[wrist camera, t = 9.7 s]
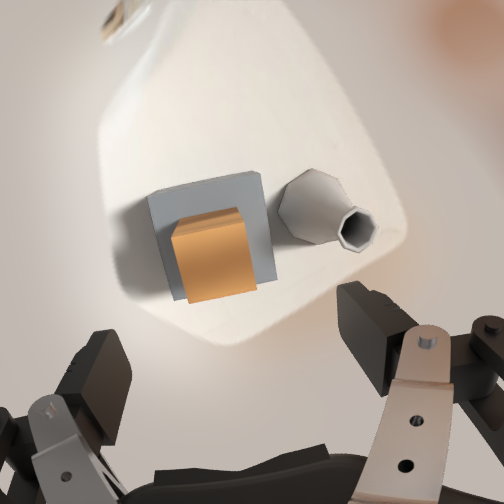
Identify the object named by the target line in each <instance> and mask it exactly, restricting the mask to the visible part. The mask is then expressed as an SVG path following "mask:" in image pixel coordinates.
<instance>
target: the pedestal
mask: <svg viewBox="0 0 504 504" xmlns="http://www.w3.org/2000/svg"><path fill="white" fill-rule="evenodd" d="M147 200H148V204H149V208H150V213H151V217H152V221H153V225H154V229H155V233H156V237H157V241H158V245H159V249H160V253H161V257H162V260H163V264H164V268H165V271H166V275H167V279H168V282H169V286H170V289H171V293H172V296H173V299H174V301H176V300H181V299H186V298H187V295H186V292H185V288H184V285H183V281H182V278H181V274H180V270H179V266H178V263H177V259H176V255H175V251H174V247H173V243H172V240H171V237H172V235H173V233H174V231H175V229H176V226H177V224H178V222H179V220H180V219H181V218H185V217H190V216H194V215H199V214H204V213H208V212H213V211H218V210H223V209H227V208H232V207H237V208H238V210H239V213H240V215H241V217H242V219H243V221H244V224H245V229H246V234H247V239H248V245H249V250H250V255H251V260H252V266H253V271H254V276H255V281H256V284H261V283H265V282H270V281H275V280H278V279H277V273H276V267H275V260H274V254H273V248H272V241H271V235H270V229H269V223H268V217H267V211H266V205H265V199H264V193H263V187H262V181H261V175H260V173H257V172H254V171H248V172H242V173H237V174H232V175H226V176H221V177H216V178H211V179H206V180H202V181H197V182H192V183H187V184H183V185H178V186H174V187H170V188H165V189H161V190H157V191H156V192H154V193H152V194H151V195H149V196H148V197H147Z"/></svg>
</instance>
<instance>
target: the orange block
mask: <svg viewBox="0 0 504 504" xmlns="http://www.w3.org/2000/svg"><path fill="white" fill-rule="evenodd" d="M171 240H172V243H173V247H174V251H175V255H176V259H177V263H178V266H179V270H180V274H181V278H182V281H183V285H184V288H185V292H186V295H187V299H188V302H189V304H191V303H196V302H201V301H206V300H211V299H216V298H221V297H225V296H230V295H235V294H240V293H244V292H249V291H254V290H257V287H256V281H255V276H254V271H253V266H252V260H251V255H250V250H249V245H248V239H247V234H246V229H245V224H244V221H243V219H242V217H241V215H240V213H239V210H238V208H237V207H232V208H227V209H223V210H218V211H213V212H208V213H204V214H199V215H194V216H190V217H185V218H181V219H180V220H179V222H178V224H177V226H176V229H175V231H174V233H173V235H172V237H171Z"/></svg>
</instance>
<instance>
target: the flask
mask: <svg viewBox="0 0 504 504" xmlns="http://www.w3.org/2000/svg"><path fill="white" fill-rule="evenodd" d="M278 214H279V216H280V217H281V219H282V220H283V222H284V223H285V225H286V226H287V228H288V230H289V231H290V233H291V234H292V236H293V237H296V238H299V239H302V240H306V241H309V242H312V243H315V244H318V245H320V244H324V243H327V242H331V241H336V240H339V242H340V243H341V245H342V247H343V248H345V249H347V250H350V251H353V252H356V253H360V252H361V251H363V250H364V249H365V248H367V247H368V246H370V245H371V244H372V243H373V241H374V238H375V236H376V233H377V230H378V228H379V227H378V225H377V223H376V221H375V219H374V217H373V215H372V213H371V212H369V211H367V210H364V209H362V208H359V207H357V206H354V207H353V206H352V203H351V202H350V200H349V198H348V196H347V194H346V193H345V191H344V189H343V187H342V185H341V184H340V182H339V180H338V179H337V178H335V177H332V176H330V175H327V174H325V173H322V172H320V171H317V170H315V169H310V170H309V171H307V172H306V173H304V174H303V175H301V176H300V177H298V178H297V179H295V180H294V181H292V182H291V183H289V184H288V185H287V188H286V190H285V193H284V196H283V199H282V201H281V204H280V207H279V210H278Z"/></svg>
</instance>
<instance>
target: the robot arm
mask: <svg viewBox="0 0 504 504" xmlns="http://www.w3.org/2000/svg"><path fill="white" fill-rule="evenodd" d="M337 310H338V327H339V331H340V335H341V337H342V339H343V341H344V342H345V344H346V345H347V347H348V348H349V350H350V351H351V353H352V354H353V356H354V357H355V359H356V360H357V361H358V363H359V365H360V366H361V367H362V369H363V371H364V372H365V374H366V375H367V377H368V378H369V380H370V381H371V383H372V384H373V385H374V387H375V389H376V390H377V392H378V393H379V395H380V396H381V397H383V396H386V395H388V397H387V401H386V404H385V408H384V411H383V414H382V417H381V421H380V424H379V427H378V430H377V433H376V436H375V439H374V442H373V445H372V448H371V450H370V453H369V456H368V457H365V456H360V455H354V454H329V453H328V451H327V448H326V446H325V444H320V445H317V446H313V447H310V448H306V449H302V450H298V451H293V452H289V453H285V454H282V455H279V456H277V457H275V458H272V459H270V460H267V461H265V462H263V463H260V464H258V465H255V466H253V467H250V468H248V469H245V470H242V471H220V470H208V469H199V468H189V469H176V470H156V471H155V475H154V482H153V483H149V484H147V485H144V486H141V487H139V488H137V489H134V490H133V491H131V492H129V493H128V491H127V490H126V489H125V487H124V486H123V485H122V483H121V482H120V480H119V479H118V477H117V476H116V474H115V473H114V471H113V470H112V468H111V467H110V465H109V464H108V462H107V460H106V459H105V457H104V456H103V455H102V453H101V452H100V449H101V446H104V445H105V446H106V445H107V446H113V445H115V442H116V438H117V434H118V430H119V426H120V421H121V418H122V414H123V410H124V406H125V402H126V398H127V395H128V391H129V387H130V384H131V381H132V370H131V366H130V363H129V361H128V358H127V356H126V354H125V352H124V349H123V347H122V344H121V342H120V340H119V337H118V335H117V333H116V332H115V330H113V329H109V330H103V331H96V332H94V333H93V334H92V335H91V337H90V339H89V341H88V343H87V345H86V346H84V347H83V348H82V349H81V350H80V351H79V352H77V353H76V354H75V356H74V358H73V360H72V361H71V365H69V367H68V369H67V370H66V371H67V372H66V373H65V374H64V376H63V378H62V380H61V382H60V384H59V385H58V388H57V389H56V391H55V393H54V394H51V395H46V396H44V397H41V398H40V399H38V400H37V401H35V402H34V403H33V404H32V406H31V407H30V409H29V411H28V415H27V416H23V417H19V418H15V419H13V417H12V416H11V414H10V413H9V412H8V410H7V409H6V408H4V407H0V471H1V469H2V466H3V464H4V461H6V462H7V463H8V464H9V465H10V467H12V469H13V470H14V471H15V472H14V475H13V478H12V481H11V484H10V487H9V490H8V493H7V495H5V494H4V493H3V492H2V490H1V489H0V504H46V503H47V504H504V502H499V501H495V500H491V499H487V498H483V497H480V496H476V495H472V494H469V493H465V492H462V491H459V490H456V489H452V488H449V487H446V486H443V485H442V482H443V476H444V470H445V465H446V459H447V453H448V446H449V438H450V430H451V420H452V408H453V404H454V403H458V404H459V405H460V406H461V408H462V409H463V410H464V412H465V413H466V414H467V416H468V417H469V418H470V420H471V421H472V423H473V424H474V425H475V427H476V428H477V429H478V430H479V432H480V434H481V435H482V436H483V437H484V439H485V440H486V442H487V443H488V445H489V446H490V447H491V449H492V450H493V452H494V453H495V455H496V456H497V458H498V459H499V461H500V462H501V463H502V465H503V466H504V391H503V390H502V388H501V387H500V386H499V385H498V384H497V383H496V382H497V380H498V377H499V376H500V377H501V378H502V379H503V381H504V319H503V318H500V317H497V316H482V317H479V318H477V319H476V320H475V321H474V322H473V325H472V330H471V333H470V334H464V335H457V336H449V334H448V332H446V331H445V330H444V329H442V328H440V327H438V326H434V325H419V324H418V323H417V322H416V321H414V320H413V319H412V318H411V317H410V316H409V315H408V314H407V313H406V312H405V311H404V310H402V309H400V307H399V306H398V305H397V304H395V303H394V302H393V301H392V300H391V299H390V298H389V297H388V296H387V295H385V294H382V293H380V292H377V291H375V290H372V291H369V290H368V289H367V288H366V287H365V286H364V285H363V284H361V283H360V282H359V281H354V282H349V283H345V284H341V285H338V286H337Z"/></svg>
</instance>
